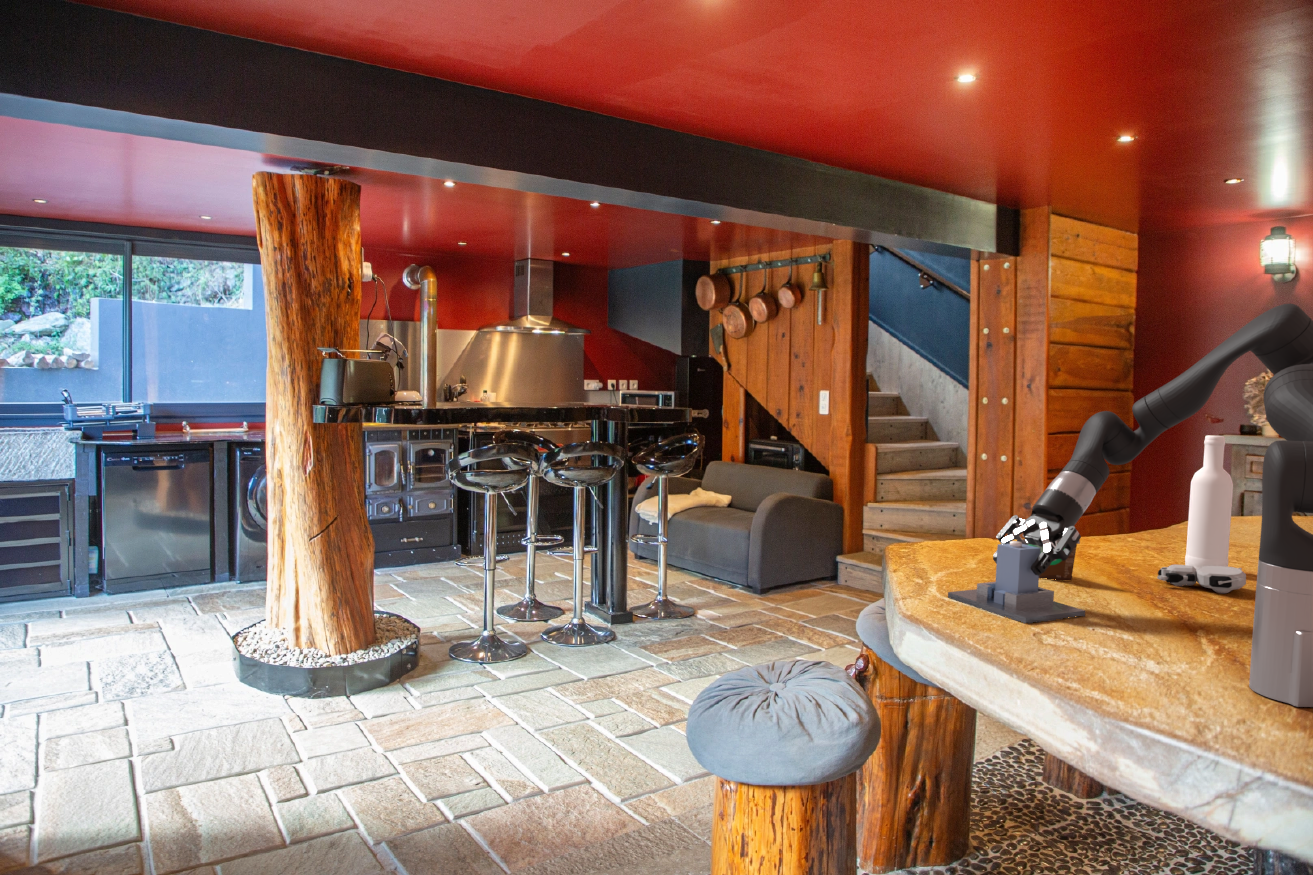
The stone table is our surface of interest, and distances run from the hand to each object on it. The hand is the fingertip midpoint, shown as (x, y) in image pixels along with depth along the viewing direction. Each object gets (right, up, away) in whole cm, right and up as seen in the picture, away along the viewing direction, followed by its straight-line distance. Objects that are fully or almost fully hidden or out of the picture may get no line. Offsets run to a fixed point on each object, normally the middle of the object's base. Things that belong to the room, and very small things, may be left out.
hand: (1014, 567), depth 152 cm
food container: (+16, -6, +26) cm, 31 cm away
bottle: (+57, -6, +36) cm, 68 cm away
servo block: (0, -6, 0) cm, 6 cm away
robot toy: (+46, -7, +20) cm, 50 cm away
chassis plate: (0, -7, 0) cm, 7 cm away
